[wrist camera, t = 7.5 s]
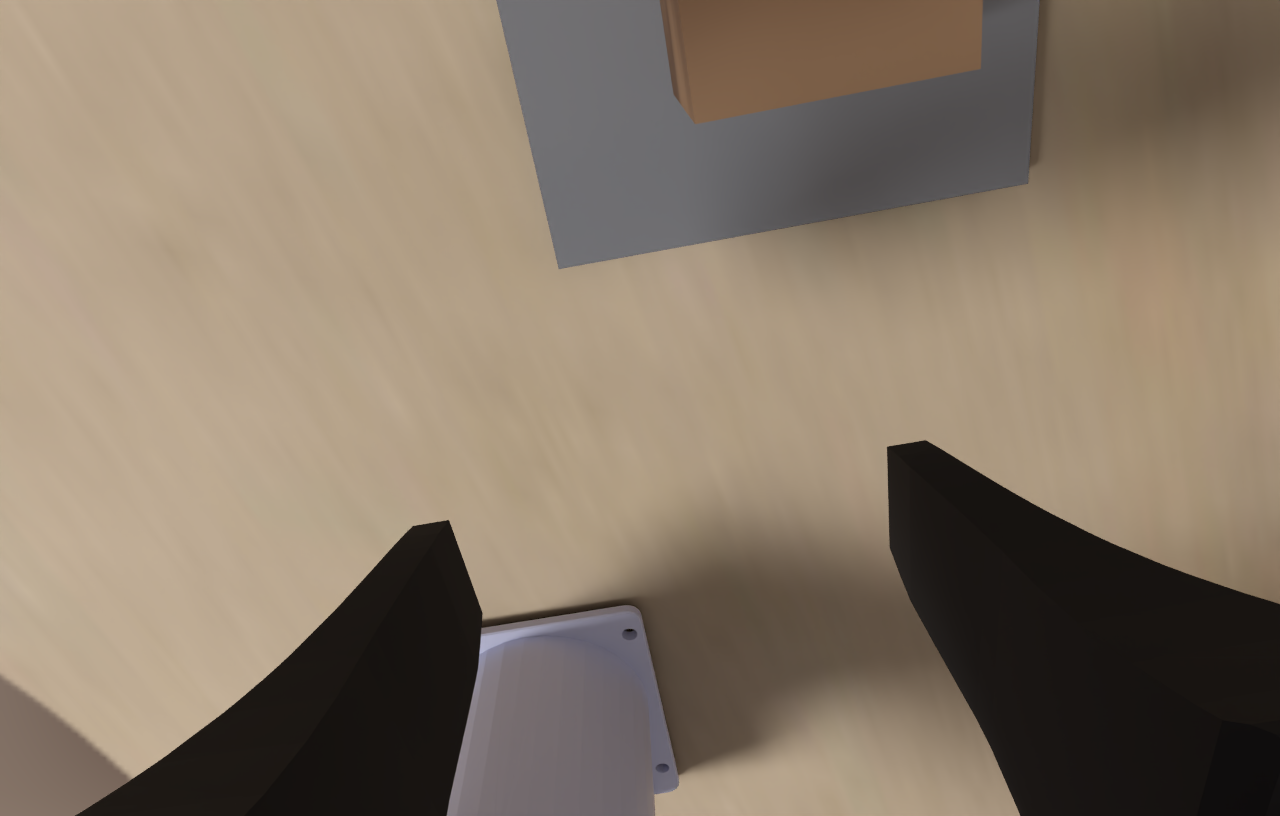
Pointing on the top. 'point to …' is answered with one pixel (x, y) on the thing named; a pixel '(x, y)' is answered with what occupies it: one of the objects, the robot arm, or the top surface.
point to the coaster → (746, 134)
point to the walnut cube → (810, 49)
